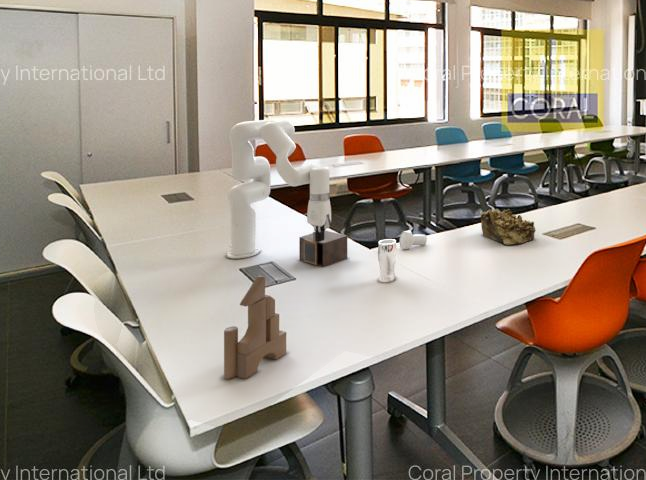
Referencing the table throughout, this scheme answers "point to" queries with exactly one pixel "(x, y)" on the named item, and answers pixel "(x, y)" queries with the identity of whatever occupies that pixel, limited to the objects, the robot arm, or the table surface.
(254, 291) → the wooden toy
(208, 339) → the table surface
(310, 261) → the sliding door
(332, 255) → the cabinet
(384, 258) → the beer glass
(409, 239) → the spotlight
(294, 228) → the table surface
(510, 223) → the mineral
